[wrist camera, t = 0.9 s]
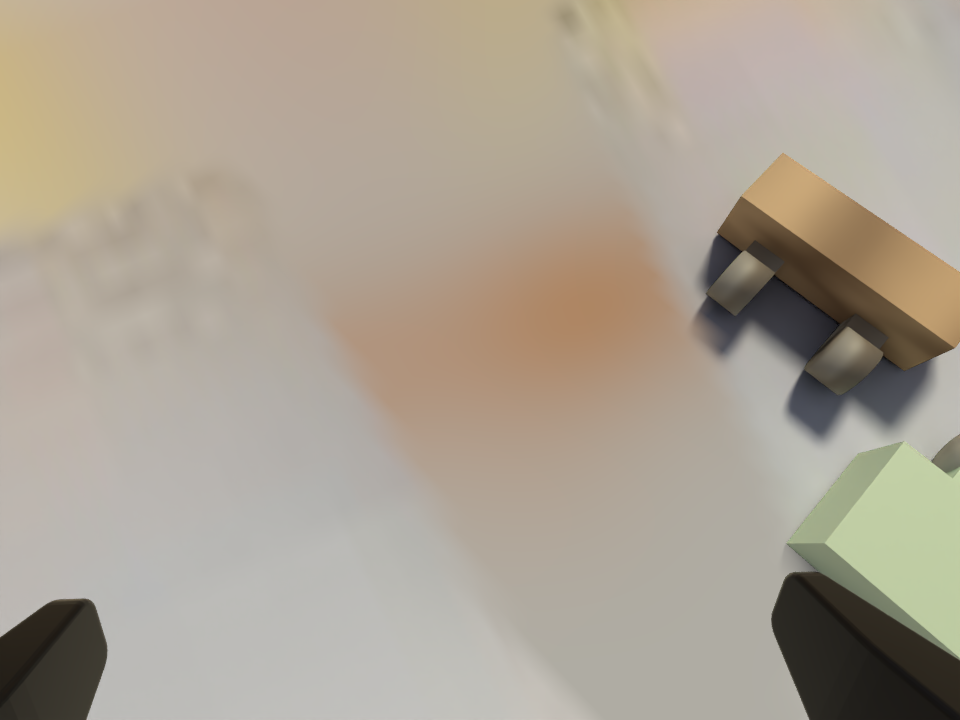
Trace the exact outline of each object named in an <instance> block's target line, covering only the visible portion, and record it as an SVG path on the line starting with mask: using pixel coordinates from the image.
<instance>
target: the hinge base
mask: <svg viewBox="0 0 960 720" xmlns="http://www.w3.org/2000/svg"><path fill="white" fill-rule="evenodd" d="M717 233H718V234H719V235H721V236H722V237H724V238H725V239H726V240H728V241H729V242H730V243H732V244H733V245H734V246H736V247H737V248H738V249H740V250H741V251H742V253H741V254H740V255H739V256H738V257H737V258H736V259H735V260H734V261H733V262H732V263H731V264H730V266H729V267H728V268H727V269H726V270H725V271H724V272H723V273H722V274H721V276H720V277H719V278H718V279H717V280H716V281H715V283H714V284H713V285H712V286H711V287H710V289H709V290H708V291H707V292H706V294H707V295H709V296H710V297H711V298H712V299H714V300H715V301H716V302H718V303H719V304H720V305H721V306H723V307H724V308H725V309H727V310H728V311H729V312H730V313H732V314H733V315H734V316H736V315H737V314H738V313H739V312H740V311H741V310H742V309H743V308H744V307H745V306H746V305H747V304H748V303H749V302H750V301H751V299H752V298H753V297H754V296H755V295H756V294H757V293H758V292H759V291H760V290H761V289H762V288H763V286H764V285H765V284H766V283H767V282H768V281H769V280H770V279H771V278H772V276H773V275H775V276H776V277H778V278H779V279H780V280H782V281H783V282H784V283H786V284H787V285H788V286H790V287H791V288H793V289H794V290H795V291H797V292H798V293H799V294H801V295H802V296H803V297H805V298H806V299H807V300H809V301H810V302H811V303H813V304H814V305H816V306H817V307H818V308H820V309H821V310H822V311H824V312H825V313H826V314H828V315H829V316H830V317H832V318H833V319H834V320H836V321H837V322H839V323H840V325H839V326H838V327H837V329H836V330H835V331H834V332H833V333H832V334H831V336H830V337H829V338H828V339H827V340H826V341H825V343H824V344H823V345H822V346H821V347H820V349H819V350H818V351H817V352H816V353H815V354H814V356H813V357H812V358H811V359H810V360H809V362H808V363H807V364H806V366H805V368H804V370H805V371H807V372H808V373H809V374H811V375H812V376H813V377H814V378H816V379H817V380H818V381H820V382H821V383H822V384H823V385H825V386H826V387H827V388H829V389H830V390H831V391H832V392H834V393H835V394H836V395H841V394H844V393H845V392H847V391H849V390H850V389H852V388H853V387H854V386H856V385H857V384H858V383H859V382H860V381H862V380H863V379H864V378H865V377H866V376H867V375H868V374H869V373H870V372H871V371H872V370H873V369H874V368H875V366H876V365H877V364H878V363H879V361H880V360H881V358H882V357H883V356H885V357H886V358H887V359H889V360H890V361H891V362H893V363H894V364H895V365H897V366H898V367H899V368H901V369H902V370H903V371H905V370H908V369H910V368H912V367H914V366H916V365H919V364H921V363H923V362H925V361H927V360H930V359H932V358H934V357H936V356H938V355H941V354H943V353H945V352H947V351H949V350H952V349H954V348H955V347H956V346H957V345H958V343H959V342H960V272H959V271H957V270H956V269H954V268H953V267H951V266H950V265H948V264H947V263H945V262H944V261H943V260H941V259H940V258H938V257H937V256H935V255H934V254H932V253H931V252H929V251H928V250H926V249H925V248H923V247H922V246H920V245H919V244H917V243H916V242H914V241H913V240H911V239H910V238H908V237H907V236H905V235H904V234H903V233H901V232H900V231H898V230H897V229H895V228H894V227H892V226H891V225H889V224H888V223H886V222H885V221H883V220H882V219H880V218H879V217H877V216H876V215H874V214H873V213H871V212H870V211H868V210H867V209H865V208H864V207H863V206H861V205H860V204H858V203H857V202H855V201H854V200H852V199H851V198H849V197H848V196H846V195H845V194H843V193H842V192H840V191H839V190H837V189H836V188H834V187H833V186H831V185H830V184H828V183H827V182H825V181H824V180H823V179H821V178H820V177H818V176H817V175H815V174H814V173H812V172H811V171H809V170H808V169H806V168H805V167H803V166H802V165H800V164H799V163H797V162H796V161H794V160H793V159H791V158H790V157H788V156H787V155H785V154H784V153H782V154H781V155H780V156H779V157H778V158H777V159H776V160H775V162H774V163H773V164H772V165H771V166H770V167H769V168H768V169H767V170H766V171H765V172H764V173H763V174H762V175H761V176H760V177H759V178H758V179H757V180H756V181H755V182H754V183H753V184H752V185H751V186H750V187H749V188H748V190H747V191H746V192H745V193H744V194H743V195H742V196H741V197H740V199H739V200H738V202H737V203H736V205H735V206H734V208H733V209H732V211H731V212H730V214H729V215H728V217H727V218H726V220H725V221H724V223H723V224H722V226H721V227H720V229H719V230H718V232H717Z"/></svg>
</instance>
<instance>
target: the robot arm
mask: <svg viewBox="0 0 960 720" xmlns="http://www.w3.org/2000/svg"><path fill="white" fill-rule="evenodd" d="M771 622H772V628H773V632H774V635H775V637H776V640H777V642H778V645H779V647H780V650H781V652H782V654H783V657H784V659H785V662H786V664H787V667H788V669H789V671H790V674H791V676H792V679H793V681H794V684H795V686H796V688H797V691H798V693H799V696H800V698H801V700H802V703H803V705H804V708H805V710H806V713H807V715H808V717H809V720H960V660H959V659H957V658H956V657H954V656H953V655H951V654H950V653H948V652H946V651H945V650H943V649H942V648H940V647H938V646H937V645H935V644H934V643H932V642H930V641H929V640H927V639H926V638H924V637H923V636H921V635H919V634H918V633H916V632H915V631H913V630H911V629H910V628H908V627H907V626H905V625H903V624H902V623H900V622H899V621H897V620H896V619H894V618H892V617H891V616H889V615H888V614H886V613H884V612H883V611H881V610H880V609H878V608H877V607H875V606H873V605H872V604H870V603H869V602H867V601H865V600H864V599H862V598H861V597H859V596H857V595H856V594H854V593H853V592H851V591H850V590H848V589H846V588H845V587H843V586H842V585H840V584H838V583H837V582H835V581H834V580H832V579H830V578H829V577H827V576H826V575H824V574H822V573H819V572H793V573H790V574H789V575H787V576H786V577H785V579H784V582H783V584H782V587H781V590H780V593H779V595H778V598H777V601H776V603H775V606H774V609H773V612H772V618H771ZM106 659H107V643H106V639H105V636H104V633H103V630H102V626H101V623H100V620H99V617H98V613H97V610H96V607H95V605H94V603H93V602H92V601H91V600H89V599H60V600H54V601H52V602H49V603H48V604H46V605H44V606H43V607H41V608H40V609H39V610H37V611H36V612H35V613H33V614H32V615H30V616H29V617H28V618H26V619H25V620H24V621H22V622H21V623H19V624H18V625H17V626H15V627H14V628H12V629H11V630H10V631H8V632H7V633H6V634H4V635H3V636H1V637H0V720H86V719H87V716H88V713H89V710H90V708H91V705H92V702H93V699H94V696H95V693H96V690H97V688H98V685H99V682H100V679H101V676H102V673H103V670H104V667H105V664H106Z"/></svg>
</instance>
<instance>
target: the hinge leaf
mask: <svg viewBox="0 0 960 720" xmlns="http://www.w3.org/2000/svg"><path fill="white" fill-rule="evenodd" d="M786 544H787V545H789V546H790V547H791V548H792V549H793V550H794V551H795V552H797V553H798V554H799V555H800V556H801V557H802V558H804V559H805V560H806V561H807V562H808V563H809V564H810V565H812V566H813V567H814V568H815V569H816V570H817V571H819V572H820V573H822V574H824V575H826V576H827V577H829V578H830V579H832V580H834V581H835V582H837V583H838V584H840V585H842V586H843V587H845V588H846V589H848V590H850V591H851V592H853V593H854V594H856V595H857V596H859V597H861V598H862V599H864V600H865V601H867V602H869V603H870V604H872V605H873V606H875V607H877V608H878V609H880V610H881V611H883V612H884V613H886V614H888V615H889V616H891V617H892V618H894V619H896V620H897V621H899V622H900V623H902V624H903V625H905V626H907V627H908V628H910V629H911V630H913V631H915V632H916V633H918V634H919V635H921V636H923V637H924V638H926V639H927V640H929V641H930V642H932V643H934V644H935V645H937V646H938V647H940V648H942V649H943V650H945V651H946V652H948V653H950V654H951V655H953V656H954V657H956V658H957V659H959V660H960V434H959V435H958V436H956V437H955V438H953V439H952V440H951V441H949V442H948V443H947V444H946V445H945V446H944V447H943V448H942V449H941V450H940V451H939V452H938V453H937V455H936V456H935V458H934V460H933V462H930V461H929V460H928V459H927V458H925V457H924V456H923V455H921V454H920V453H919V452H918V451H916V450H915V449H914V448H912V447H911V446H910V445H908V444H907V443H906V442H905V441H904V442H900V443H896V444H892V445H889V446H885V447H881V448H877V449H874V450H870V451H866V452H862V453H859V454H857V456H856V457H855V458H854V459H853V461H852V462H851V463H850V464H849V466H848V467H847V468H846V469H845V471H844V472H843V473H842V474H841V476H840V477H839V478H838V479H837V481H836V482H835V483H834V484H833V486H832V487H831V488H830V489H829V491H828V492H827V493H826V494H825V496H824V497H823V498H822V499H821V501H820V502H819V503H818V504H817V506H816V507H815V508H814V509H813V511H812V512H811V513H810V514H809V516H808V517H807V518H806V519H805V521H804V522H803V523H802V524H801V526H800V527H799V528H798V529H797V531H796V532H795V533H794V535H793V536H792V537H791V538H790V540H789V541H788V542H787V543H786Z"/></svg>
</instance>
